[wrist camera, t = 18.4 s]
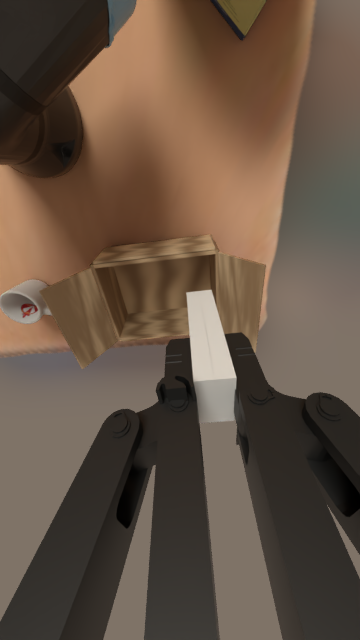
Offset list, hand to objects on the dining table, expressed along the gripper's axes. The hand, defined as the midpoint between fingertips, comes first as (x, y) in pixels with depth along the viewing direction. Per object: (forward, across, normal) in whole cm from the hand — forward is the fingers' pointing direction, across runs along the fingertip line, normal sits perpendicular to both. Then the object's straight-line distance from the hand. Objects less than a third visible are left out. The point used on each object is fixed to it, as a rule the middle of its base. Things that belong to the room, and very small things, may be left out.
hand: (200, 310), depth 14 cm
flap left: (+24, -17, -13) cm, 32 cm away
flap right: (+24, +5, -13) cm, 28 cm away
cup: (+35, -34, -13) cm, 50 cm away
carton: (+34, -6, -13) cm, 37 cm away
